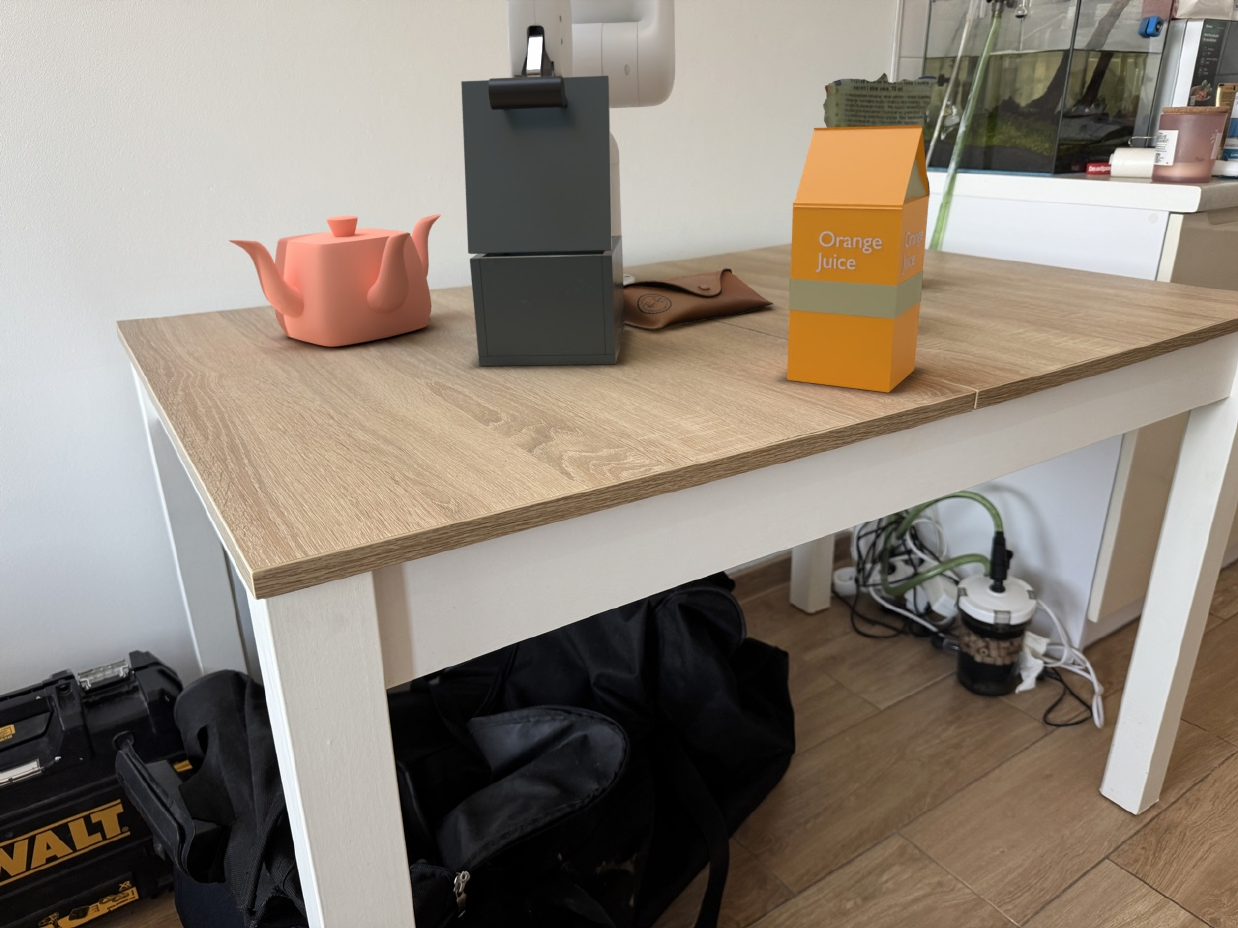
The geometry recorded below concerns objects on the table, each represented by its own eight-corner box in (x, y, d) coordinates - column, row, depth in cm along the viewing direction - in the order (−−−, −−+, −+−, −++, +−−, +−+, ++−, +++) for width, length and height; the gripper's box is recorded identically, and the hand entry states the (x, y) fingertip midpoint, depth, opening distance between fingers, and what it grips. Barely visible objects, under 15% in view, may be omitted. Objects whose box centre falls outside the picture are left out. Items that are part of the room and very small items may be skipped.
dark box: (506, 332, 98) (498, 238, 94) (624, 330, 97) (622, 235, 93) (479, 366, 85) (469, 258, 82) (615, 364, 84) (611, 255, 81)
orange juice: (888, 393, 73) (909, 127, 66) (785, 380, 77) (793, 129, 70) (915, 369, 79) (937, 124, 72) (818, 358, 84) (829, 126, 76)
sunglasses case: (659, 328, 95) (637, 269, 95) (624, 351, 101) (604, 296, 101) (779, 303, 105) (759, 250, 105) (741, 326, 111) (722, 275, 111)
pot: (419, 351, 92) (405, 224, 87) (247, 355, 92) (224, 229, 87) (450, 313, 109) (440, 205, 104) (306, 317, 109) (289, 209, 105)
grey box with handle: (463, 83, 80) (445, 63, 74) (609, 78, 79) (602, 57, 73) (470, 254, 82) (453, 248, 76) (612, 250, 81) (606, 244, 75)
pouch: (809, 290, 114) (819, 74, 105) (845, 275, 123) (857, 75, 114) (897, 298, 108) (915, 69, 99) (928, 281, 117) (947, 70, 108)
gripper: (514, -35, 90) (526, 158, 96) (477, -67, 74) (495, 167, 80) (590, -38, 89) (597, 156, 96) (569, -72, 73) (580, 164, 80)
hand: (550, 159), depth 88 cm, fingers closed on onion, 5 cm apart
